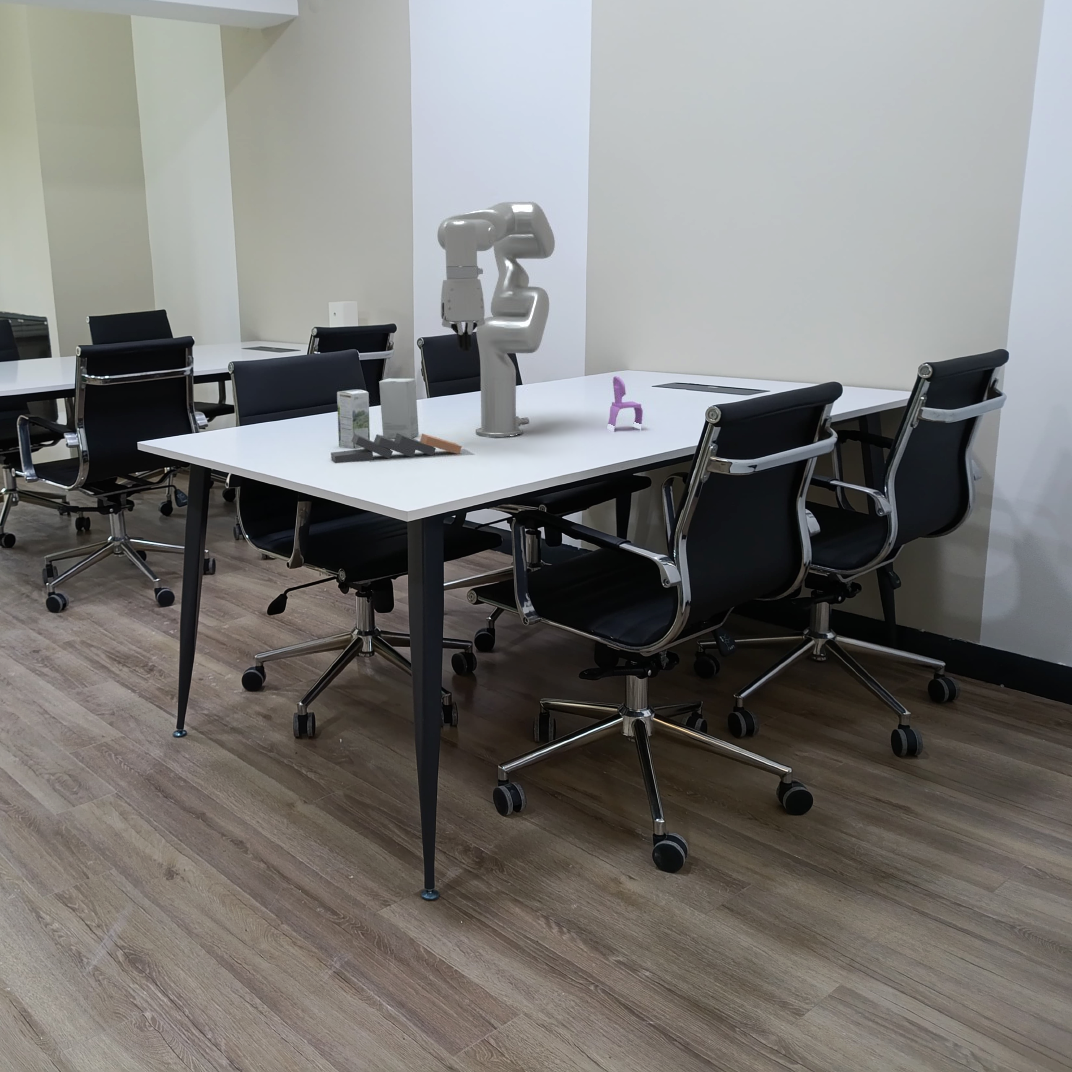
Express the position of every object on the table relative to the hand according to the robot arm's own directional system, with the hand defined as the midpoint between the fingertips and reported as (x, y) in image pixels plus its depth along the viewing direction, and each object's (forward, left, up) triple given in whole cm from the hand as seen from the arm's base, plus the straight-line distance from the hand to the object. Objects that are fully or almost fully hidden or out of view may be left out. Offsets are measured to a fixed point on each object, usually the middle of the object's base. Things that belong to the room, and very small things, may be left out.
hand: (464, 350), depth 258 cm
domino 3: (+16, 0, -24) cm, 29 cm away
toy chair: (-54, +4, -25) cm, 59 cm away
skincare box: (+1, -27, -25) cm, 37 cm away
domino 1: (+26, -4, -23) cm, 35 cm away
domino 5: (+5, +4, -23) cm, 24 cm away
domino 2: (+22, -2, -24) cm, 32 cm away
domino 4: (+11, +1, -24) cm, 26 cm away
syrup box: (+19, -21, -25) cm, 38 cm away
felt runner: (+14, 0, -25) cm, 29 cm away
